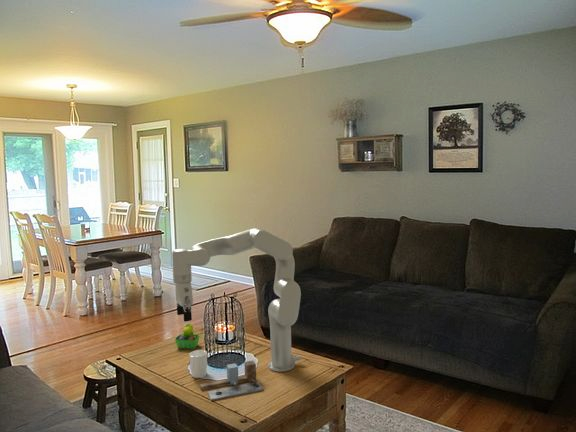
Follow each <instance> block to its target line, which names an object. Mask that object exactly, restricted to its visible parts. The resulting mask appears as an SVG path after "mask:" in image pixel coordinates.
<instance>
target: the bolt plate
mask: <svg viewBox="0 0 576 432" xmlns="http://www.w3.org/2000/svg"><path fill="white" fill-rule="evenodd" d="M264 389H265V388H264V387H263V385H262V384H261V383H260V382H259V381H254V382H253V381H252V382H249V383H245V384H240V385H239V384H238V385H233V386H228V387H223V388H218V389H214V390H209V391H207V395H208V397H209V400H210V401H211V402H213V401H219V400H222V399H228V398H234V397H239V396H243V395H247V394H253V393H258V392H263V391H264Z"/></svg>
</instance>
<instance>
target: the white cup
mask: <svg viewBox="0 0 576 432" xmlns="http://www.w3.org/2000/svg"><path fill="white" fill-rule="evenodd" d="M188 356H189V364H190V372H191V376H192V377H193V378H198V379H200V378H203V377H206V376H205V375H207V373H208V371H207V370H208V351H207V350H204V349H196V350H193V351H191V352H189V355H188Z"/></svg>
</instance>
